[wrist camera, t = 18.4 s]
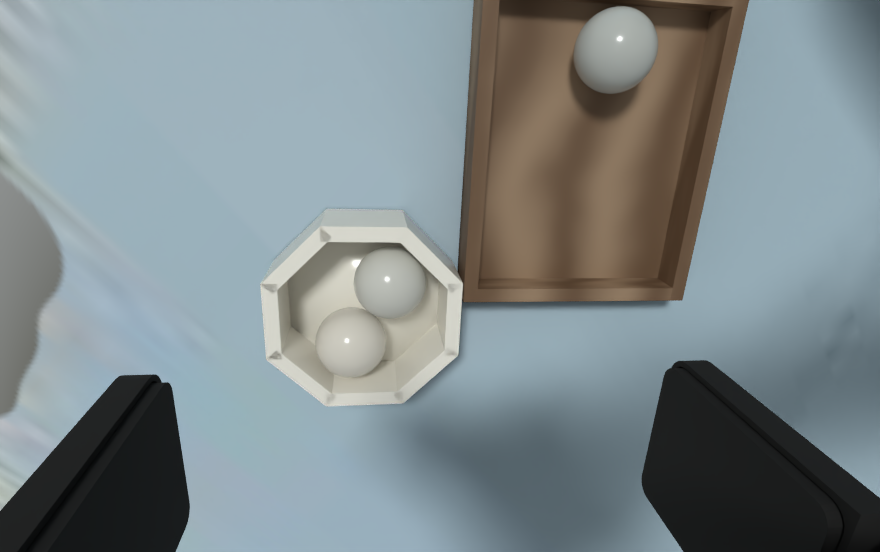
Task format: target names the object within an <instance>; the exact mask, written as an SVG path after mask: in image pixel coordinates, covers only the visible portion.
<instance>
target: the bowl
mask: <svg viewBox="0 0 880 552" xmlns="http://www.w3.org/2000/svg"><path fill="white" fill-rule="evenodd" d="M388 246H390V247H398V248H402V249H404V250H407V251H408V252H410V253H411V254H412V255H413V256H414V257H415V258H416V259H417V260H419V262H420V263H421V265H422V267H423V269H424V272H425V276H426V290H425V294H424V296H423V298H422V300H421V302H420V303H419V305H418V306H417V307H416V308H415V309H414V310H413V311H412V312H410V313H409V314H407V315H405V316H402V317H399V318H394V319H386V318H381V317H377V316H375V315H374V316H375V317H376V318H377V319H378V320H379V321H380V322H381V324H382V326H383V328H384V331H385V334H386V349H385V352H384V355H383V357H382V359H381V361H380V362H379V364H378V365H377V366H376V367H375V368H374V369H373V370H372V371H370V372H368V373H367V374H364V375H362V376H359V377H353V378H347V377H341V376H338V375H335V374H333V373H332V372H330V371H329V370H328V369H326V368H325V367H324V366H323V364H322V363H321V361H320V360H319V358H318V355H317V352H316V347H315V339H316V334H317V331H318V328H319V326H320V325H321V323H322V322H323V320H324V319H325V318H326V317H327V316H328V315H330V314H331V313H333V312H334V311H336V310H339V309H342V308H346V307H357V308H362V309H364V310H366V309H365V308H364V307H363V306H362V305H361V304H360V302H359V301H358V299H357V297H356V294H355V291H354V275H355V271H356V268H357V266H358V265H359V263H360V261H361V260H362V259H363V258H364V257H365V256H366V255H367V254H368V253H370V252H371V251H373V250H375V249H378V248H381V247H388ZM260 285H261V298H262V311H263V323H264V336H265V349H266V360H267V361H269V362H270V363H271V364H273V365H274V366H275V367H276V368H278V369H279V370H280V371H282V372H283V373H284V374H285V375H287V376H288V377H289V378H291V379H292V380H293V381H294V382H296V383H297V384H298V385H300V386H301V387H302V388H303V389H305V390H306V391H307V392H309V393H310V394H311V395H312V396H314V397H315V398H316V399H318V400H319V401H320V402H321V403H323V404H324V405H325V406H349V405H377V404H403V403H404V402H405V401H407V400H408V399H409V398H410V397H411V396H412V395H413V394H415V393H416V392H417V391H418V390H419V389H420V388H421V387H423V386H424V385H425V384H426V383H427V382H428V381H429V380H431V379H432V378H433V377H434V376H435V375H436V374H437V373H439V372H440V371H441V370H442V369H443V368H444V367H445V366H447V365H448V364H449V363H450V362H451V361H452V360H454V359H455V358H456V357H457V356H458V353H459V337H460V322H461V306H462V291H463V283H462V280H461V278H460V276H459V274H458V272H457V270H456V268H455V266H454V264H453V262H452V260H451V259H450V258H449V257H448V256H447V255H446V254H445V253H444V252H443V251H442V250H441V249H440V248H439V247H438V246H437V245H436V244H435V243H434V242H433V241H432V240H431V239H430V237H429V236H428V235H427V234H426V233H425V232H424V231H423V230H422V229H421V228H420V227H419V226H418V225H417V224H416V223H415V222H414V221H413V220H412V219H411V218H410V217H409V216H408V215H407V214H406V213H405V212H404V211H403V210H377V209H325V210H324V211H323V212H322V213H321V214H320V215H319V216H318V217H317V218H316V219H315V220H314V221H313V222H312V223H311V224H310V225H309V226H308V227H307V228H306V229H305V230H304V231H303V232H302V233H301V234H300V235H299V236H298V237H297V238H296V239H295V240H294V241H293V242H292V243H291V244H290V245H289V246H288V247H287V248H286V249H285V250H284V251H283V252H281V253H280V254H279V255H278V256H277V257H276V258H275V259H274V261H273V263H272V264H271V266H270V268H269V270H268V271H267V273H266V275H265V277H264V279H263V280H262V282H261V284H260Z"/></svg>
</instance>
